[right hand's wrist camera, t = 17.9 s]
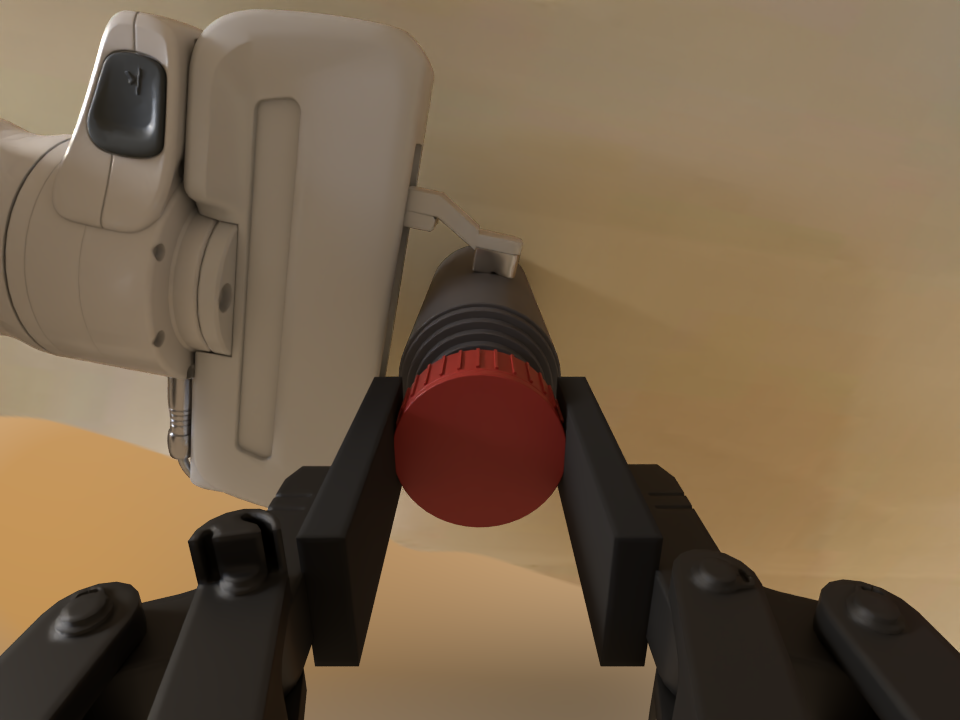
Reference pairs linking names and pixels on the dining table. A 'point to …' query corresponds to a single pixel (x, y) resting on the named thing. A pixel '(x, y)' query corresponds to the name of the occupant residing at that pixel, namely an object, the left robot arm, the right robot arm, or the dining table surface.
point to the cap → (479, 439)
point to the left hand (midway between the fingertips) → (500, 333)
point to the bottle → (478, 320)
